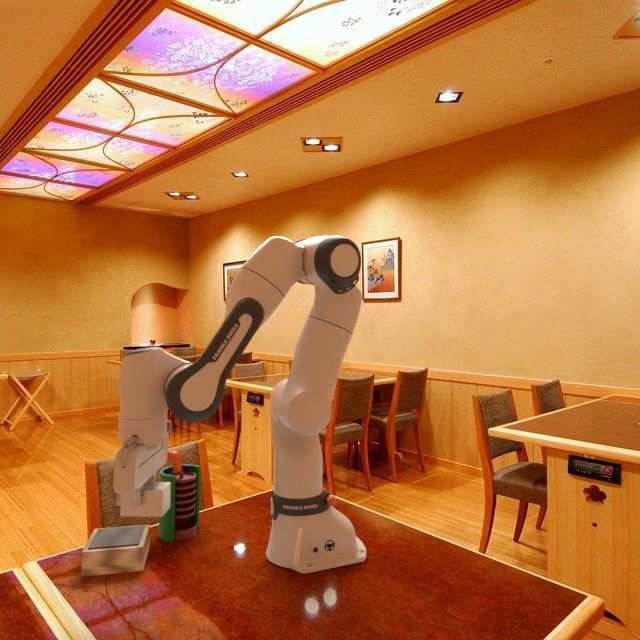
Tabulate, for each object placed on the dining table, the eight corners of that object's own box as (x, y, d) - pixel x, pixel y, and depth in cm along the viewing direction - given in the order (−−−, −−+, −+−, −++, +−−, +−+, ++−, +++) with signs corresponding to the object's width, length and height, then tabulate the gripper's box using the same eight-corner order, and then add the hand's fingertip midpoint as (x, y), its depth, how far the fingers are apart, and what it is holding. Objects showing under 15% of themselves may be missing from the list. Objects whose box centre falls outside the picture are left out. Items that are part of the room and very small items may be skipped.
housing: (170, 507, 101) (170, 482, 101) (162, 516, 96) (162, 490, 96) (123, 506, 101) (123, 481, 101) (113, 516, 96) (113, 489, 96)
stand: (149, 546, 118) (149, 523, 118) (143, 570, 106) (143, 545, 106) (94, 550, 115) (94, 527, 115) (81, 576, 104) (81, 550, 104)
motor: (185, 544, 119) (185, 458, 119) (150, 540, 121) (151, 456, 121) (203, 526, 129) (204, 448, 129) (171, 524, 131) (171, 446, 131)
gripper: (140, 443, 89) (139, 522, 89) (173, 420, 109) (173, 484, 109) (103, 443, 89) (103, 522, 89) (144, 420, 109) (144, 484, 109)
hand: (142, 501), depth 99 cm, fingers closed on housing, 5 cm apart
